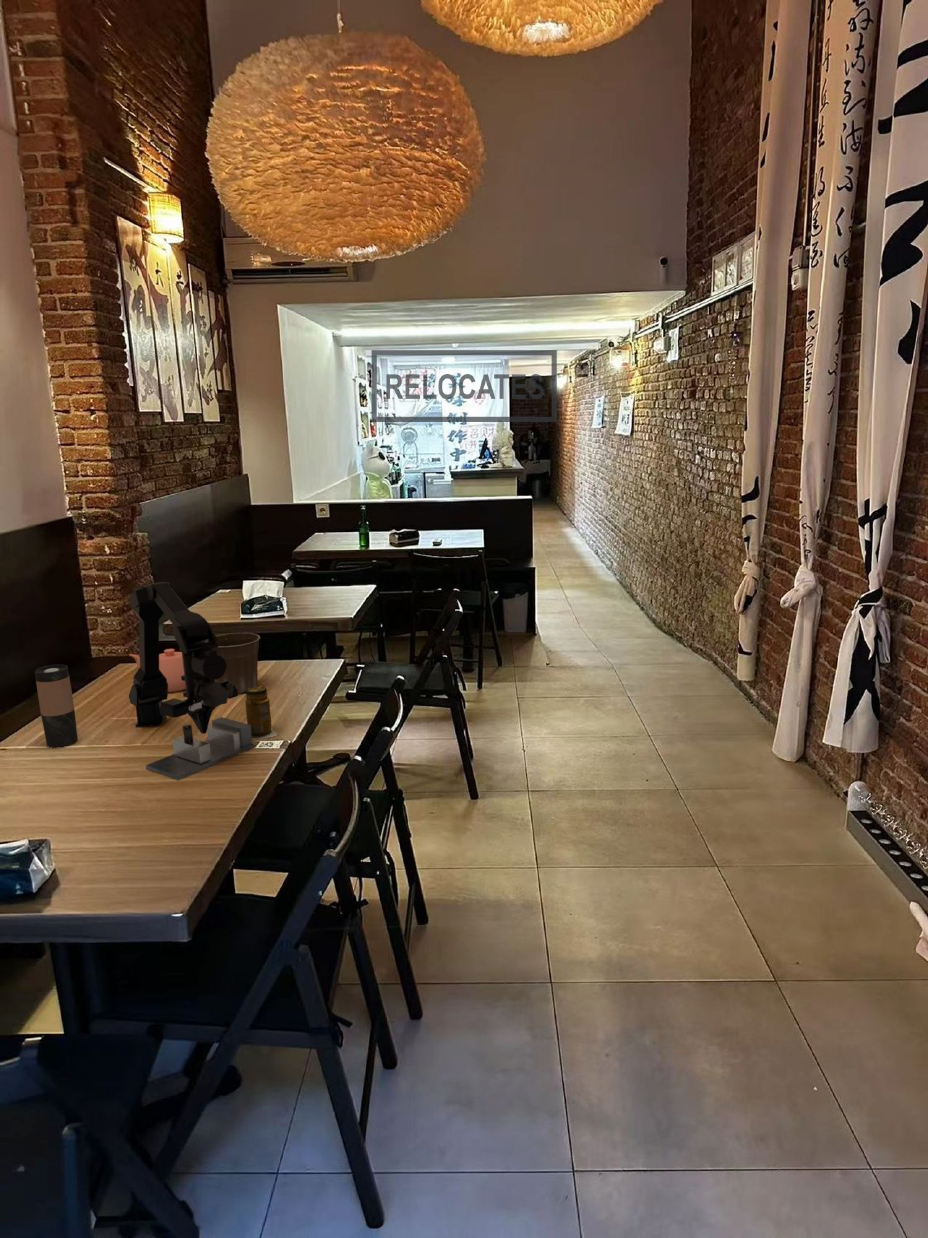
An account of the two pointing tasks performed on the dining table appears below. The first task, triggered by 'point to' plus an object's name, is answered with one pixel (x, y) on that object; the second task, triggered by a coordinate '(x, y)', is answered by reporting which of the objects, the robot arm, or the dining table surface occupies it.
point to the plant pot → (239, 659)
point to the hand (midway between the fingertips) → (203, 733)
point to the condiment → (259, 713)
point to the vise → (223, 742)
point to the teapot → (170, 668)
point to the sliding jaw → (191, 747)
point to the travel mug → (56, 705)
